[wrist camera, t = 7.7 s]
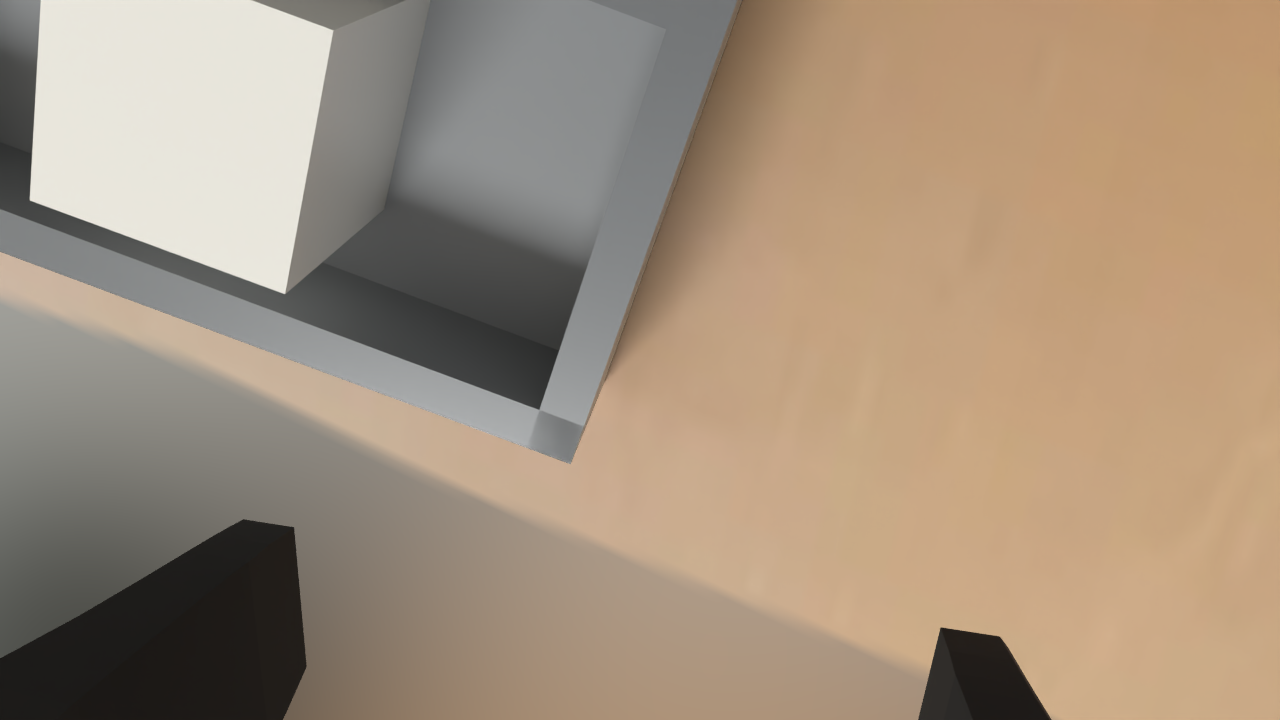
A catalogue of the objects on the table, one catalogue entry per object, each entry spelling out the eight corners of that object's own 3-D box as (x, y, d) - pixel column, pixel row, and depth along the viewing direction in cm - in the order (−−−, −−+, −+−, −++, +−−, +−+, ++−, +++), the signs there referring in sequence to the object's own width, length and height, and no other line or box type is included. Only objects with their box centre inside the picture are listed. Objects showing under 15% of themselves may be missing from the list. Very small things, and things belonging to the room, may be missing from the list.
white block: (433, -11, 18) (333, 30, 14) (384, 209, 20) (284, 294, 16) (202, -96, 18) (45, -77, 14) (175, 132, 20) (29, 200, 16)
